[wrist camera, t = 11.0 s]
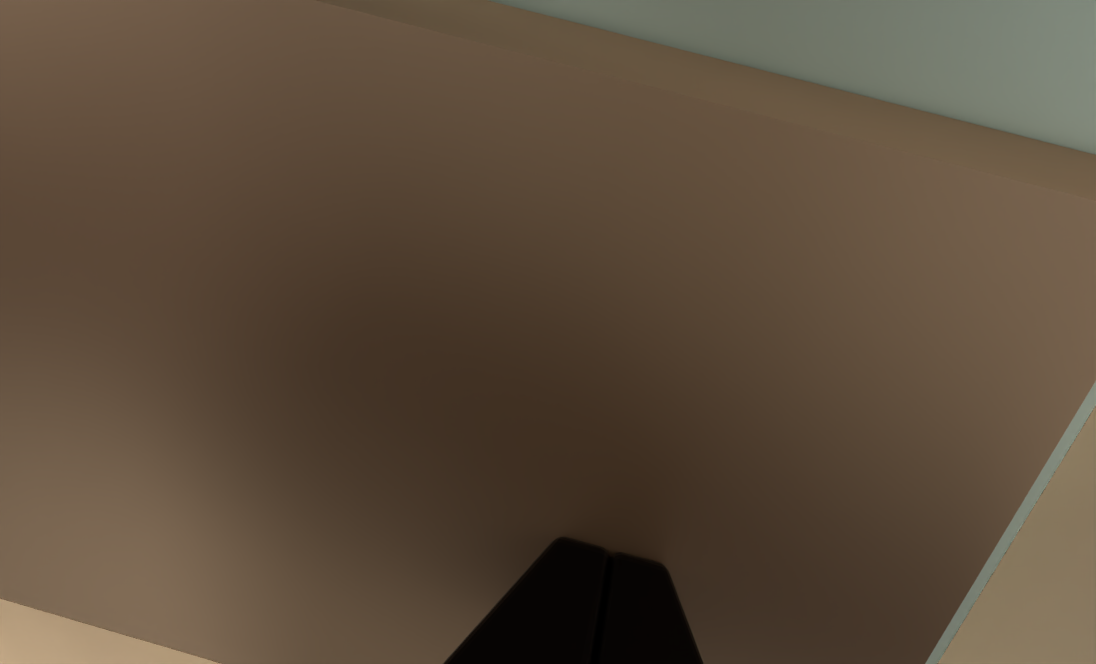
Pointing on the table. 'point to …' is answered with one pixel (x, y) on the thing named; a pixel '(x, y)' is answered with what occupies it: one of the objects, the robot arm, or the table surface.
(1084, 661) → the table surface
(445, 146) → the plank
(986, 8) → the underlay base
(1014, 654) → the table surface
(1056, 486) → the table surface
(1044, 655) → the table surface
